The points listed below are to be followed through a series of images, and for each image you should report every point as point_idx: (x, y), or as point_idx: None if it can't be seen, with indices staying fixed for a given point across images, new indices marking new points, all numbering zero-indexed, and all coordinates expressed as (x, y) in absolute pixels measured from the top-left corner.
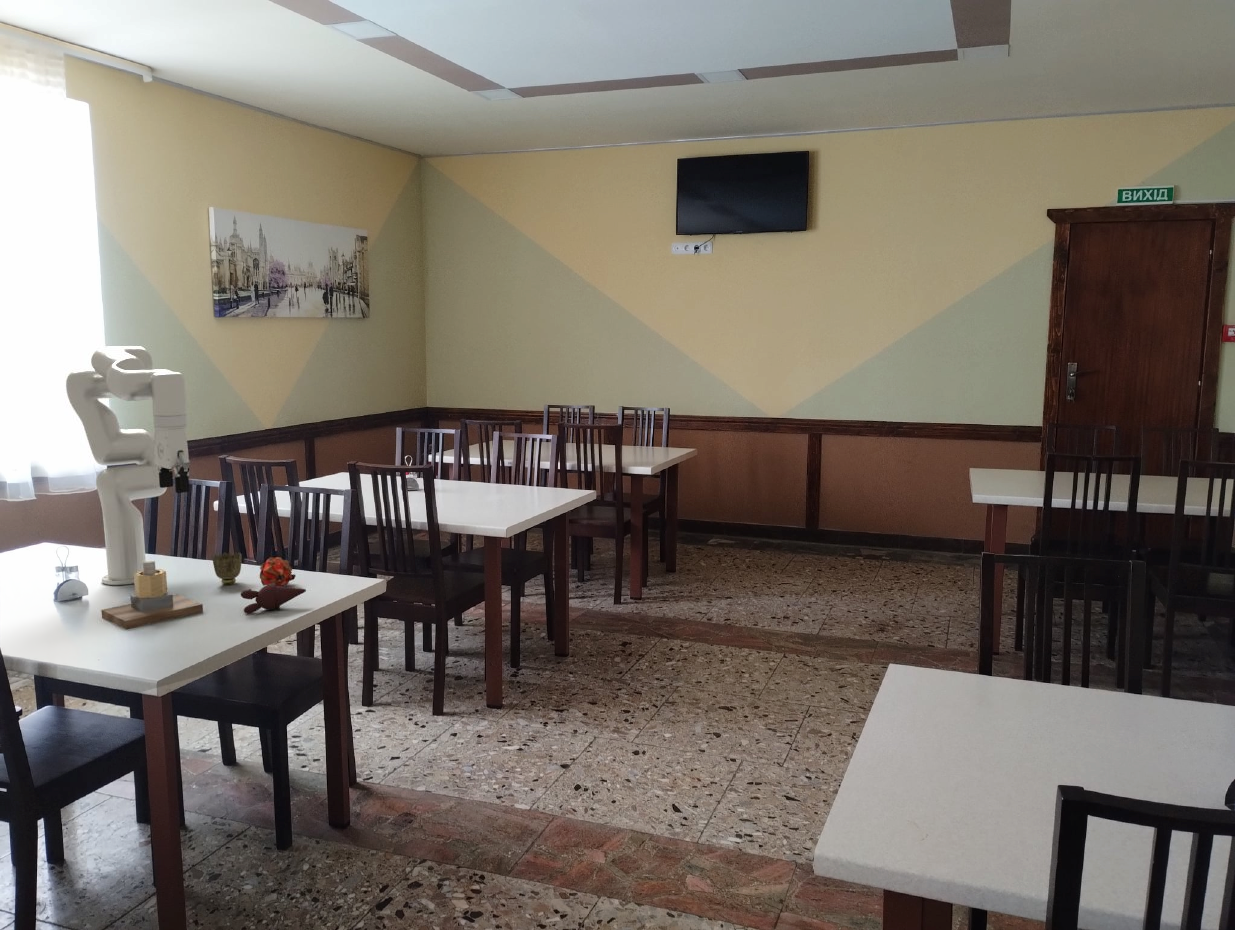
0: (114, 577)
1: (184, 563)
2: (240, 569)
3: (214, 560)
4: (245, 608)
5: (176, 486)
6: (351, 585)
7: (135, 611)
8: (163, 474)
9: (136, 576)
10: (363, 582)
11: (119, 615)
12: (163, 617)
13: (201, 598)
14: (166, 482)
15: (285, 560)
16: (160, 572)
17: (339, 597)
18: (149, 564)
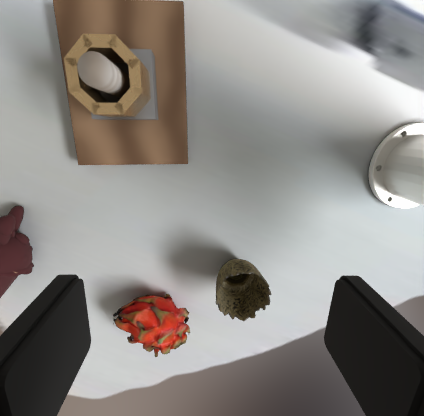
0: (410, 138)
1: (420, 273)
2: (224, 295)
3: (241, 271)
4: (13, 209)
5: (33, 306)
6: (79, 374)
7: None
8: (398, 376)
9: (97, 34)
10: (84, 390)
11: (107, 8)
12: None
13: (178, 199)
14: (347, 331)
15: (156, 354)
16: (84, 96)
17: None
18: (78, 64)
